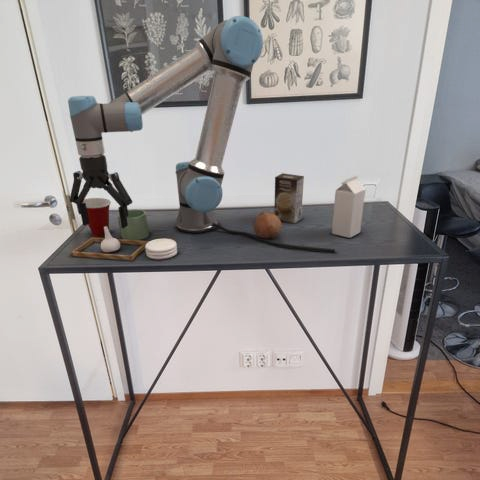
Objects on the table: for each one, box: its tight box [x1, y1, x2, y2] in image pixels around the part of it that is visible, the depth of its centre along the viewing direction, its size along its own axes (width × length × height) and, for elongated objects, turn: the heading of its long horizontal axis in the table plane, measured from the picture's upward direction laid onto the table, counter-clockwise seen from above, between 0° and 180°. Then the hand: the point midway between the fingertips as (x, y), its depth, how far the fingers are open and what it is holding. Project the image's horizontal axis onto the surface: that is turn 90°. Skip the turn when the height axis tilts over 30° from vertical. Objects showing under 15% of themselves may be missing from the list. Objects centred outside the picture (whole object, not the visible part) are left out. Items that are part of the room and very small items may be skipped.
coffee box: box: [273, 172, 305, 224], centre depth 157 cm, size 9×6×16 cm
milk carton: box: [331, 174, 366, 239], centre depth 141 cm, size 7×7×19 cm
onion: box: [253, 211, 283, 241], centre depth 142 cm, size 10×9×10 cm
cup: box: [117, 209, 150, 241], centre depth 148 cm, size 10×10×8 cm
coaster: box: [144, 238, 178, 261], centre depth 135 cm, size 10×10×4 cm
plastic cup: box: [82, 197, 112, 238], centre depth 150 cm, size 11×11×12 cm
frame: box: [70, 237, 149, 261], centre depth 139 cm, size 21×13×1 cm, turn 76°
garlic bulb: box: [100, 226, 121, 254], centre depth 137 cm, size 6×6×8 cm
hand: (105, 225), depth 135 cm, fingers open, 13 cm apart
